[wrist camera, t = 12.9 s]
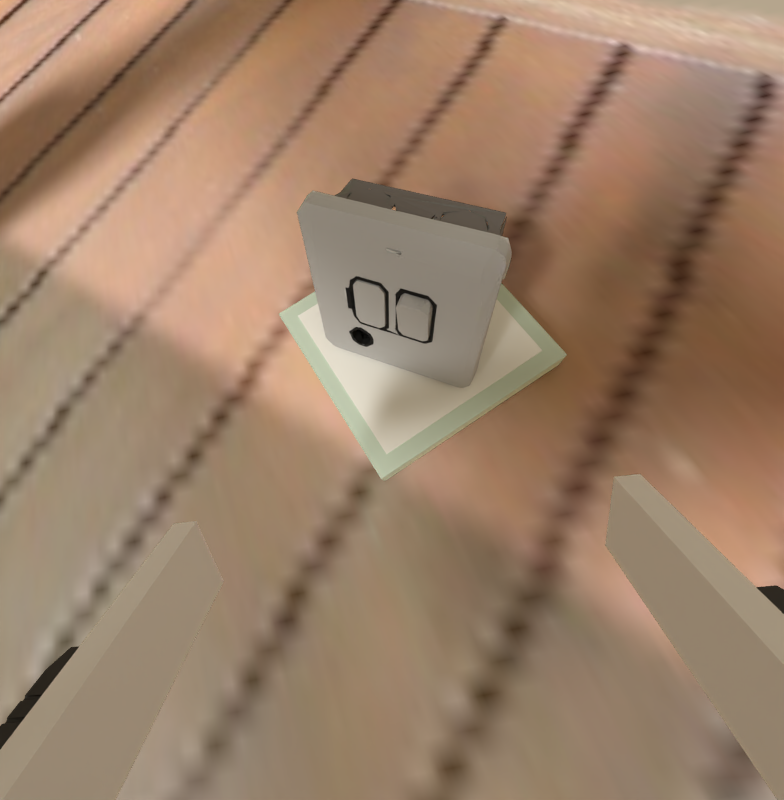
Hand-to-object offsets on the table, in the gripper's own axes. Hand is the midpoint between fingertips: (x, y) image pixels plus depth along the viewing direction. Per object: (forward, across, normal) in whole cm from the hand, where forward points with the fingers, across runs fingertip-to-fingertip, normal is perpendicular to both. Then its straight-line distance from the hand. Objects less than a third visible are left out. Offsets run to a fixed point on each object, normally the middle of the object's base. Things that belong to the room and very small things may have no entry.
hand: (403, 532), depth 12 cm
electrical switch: (+14, +1, +3) cm, 14 cm away
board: (+15, +1, +2) cm, 15 cm away
